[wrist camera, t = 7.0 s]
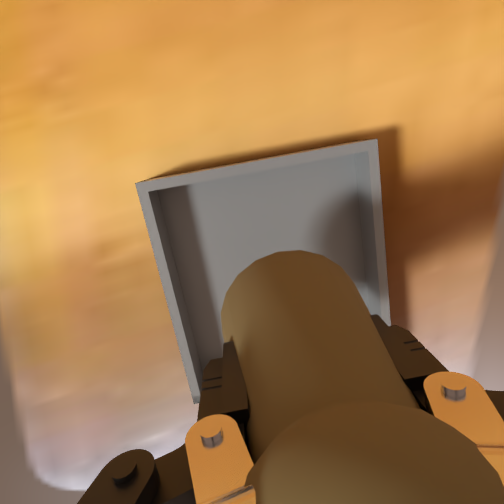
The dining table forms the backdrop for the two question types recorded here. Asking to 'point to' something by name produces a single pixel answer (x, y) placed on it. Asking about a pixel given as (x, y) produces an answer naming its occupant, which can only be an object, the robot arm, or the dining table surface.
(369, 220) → the box
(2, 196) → the dining table surface
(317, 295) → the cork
